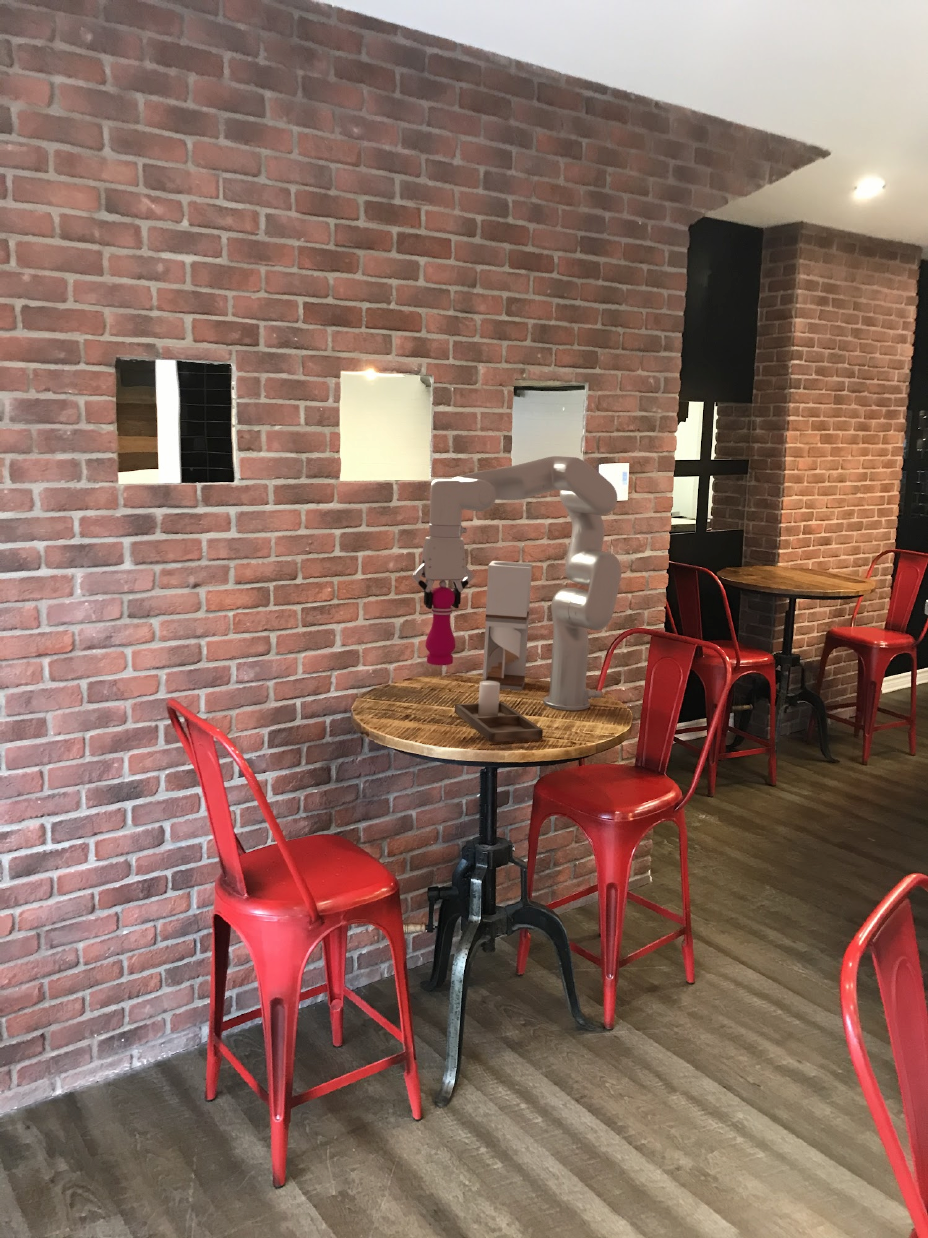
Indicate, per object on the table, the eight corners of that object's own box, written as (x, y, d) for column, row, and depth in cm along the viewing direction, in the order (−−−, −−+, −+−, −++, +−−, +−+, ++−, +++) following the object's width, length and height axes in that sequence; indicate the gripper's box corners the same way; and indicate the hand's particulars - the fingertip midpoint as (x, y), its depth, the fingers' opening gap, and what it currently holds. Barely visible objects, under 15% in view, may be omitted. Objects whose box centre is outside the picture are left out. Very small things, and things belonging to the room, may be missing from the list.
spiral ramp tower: (481, 687, 278) (488, 565, 272) (486, 679, 289) (492, 560, 283) (521, 690, 277) (529, 567, 271) (524, 682, 287) (532, 563, 281)
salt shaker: (493, 715, 248) (495, 680, 246) (500, 720, 243) (502, 685, 242) (475, 716, 246) (476, 681, 245) (482, 721, 242) (484, 686, 240)
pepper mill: (444, 667, 232) (447, 583, 228) (418, 662, 235) (421, 580, 232) (460, 662, 238) (464, 580, 234) (435, 657, 241) (438, 577, 238)
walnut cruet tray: (502, 713, 253) (502, 701, 253) (542, 742, 230) (542, 729, 230) (454, 715, 249) (455, 704, 248) (490, 745, 226) (491, 732, 225)
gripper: (473, 530, 237) (470, 604, 241) (405, 530, 231) (402, 605, 235) (484, 534, 230) (481, 609, 234) (414, 533, 224) (411, 611, 228)
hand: (442, 607), depth 234 cm, fingers closed on pepper mill, 6 cm apart
